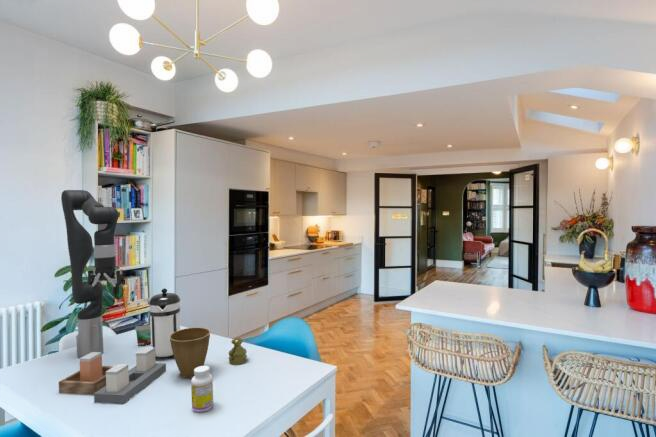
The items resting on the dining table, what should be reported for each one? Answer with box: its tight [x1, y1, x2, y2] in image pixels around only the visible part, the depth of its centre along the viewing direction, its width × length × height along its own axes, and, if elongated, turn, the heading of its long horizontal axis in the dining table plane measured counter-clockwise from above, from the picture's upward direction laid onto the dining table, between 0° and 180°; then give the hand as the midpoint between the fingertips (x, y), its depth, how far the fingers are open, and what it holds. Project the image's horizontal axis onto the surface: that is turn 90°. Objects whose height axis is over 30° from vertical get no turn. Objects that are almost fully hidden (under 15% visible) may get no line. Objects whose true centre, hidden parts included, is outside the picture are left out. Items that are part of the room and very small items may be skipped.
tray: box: [58, 365, 115, 396], centre depth 138 cm, size 14×14×4 cm
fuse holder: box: [93, 362, 167, 405], centre depth 137 cm, size 25×11×3 cm, turn 173°
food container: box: [134, 321, 151, 347], centre depth 180 cm, size 12×6×10 cm, turn 168°
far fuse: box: [135, 346, 157, 372], centre depth 145 cm, size 6×4×10 cm, turn 173°
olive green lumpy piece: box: [228, 336, 248, 366], centre depth 156 cm, size 7×7×10 cm
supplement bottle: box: [190, 365, 214, 413], centre depth 120 cm, size 7×7×13 cm
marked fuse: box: [78, 352, 103, 382], centre depth 138 cm, size 6×4×10 cm, turn 172°
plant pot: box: [170, 326, 211, 379], centre depth 145 cm, size 15×15×16 cm
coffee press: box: [148, 288, 181, 361], centre depth 165 cm, size 17×16×30 cm
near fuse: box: [106, 363, 130, 393], centre depth 129 cm, size 6×4×10 cm, turn 173°
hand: (106, 295), depth 151 cm, fingers open, 8 cm apart
